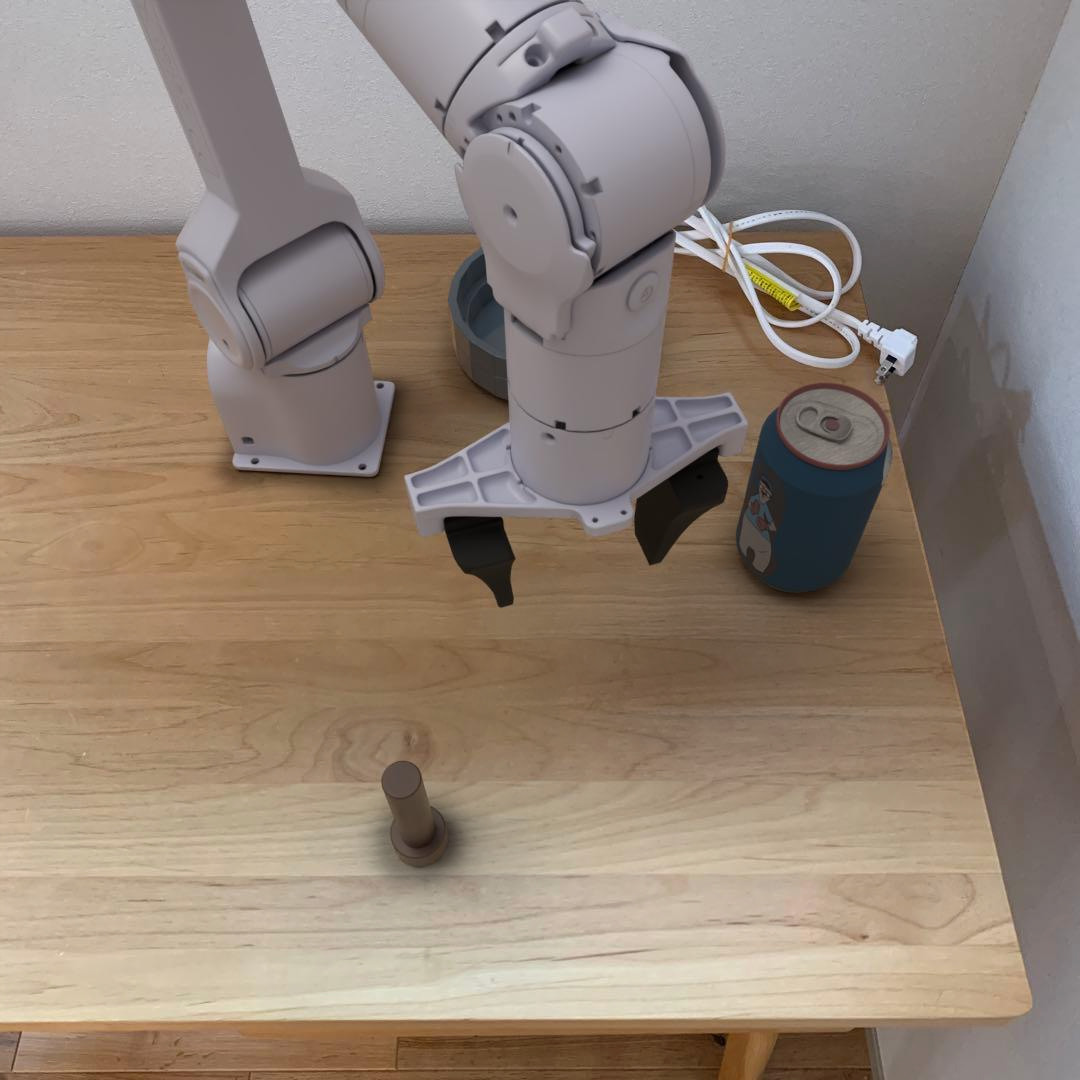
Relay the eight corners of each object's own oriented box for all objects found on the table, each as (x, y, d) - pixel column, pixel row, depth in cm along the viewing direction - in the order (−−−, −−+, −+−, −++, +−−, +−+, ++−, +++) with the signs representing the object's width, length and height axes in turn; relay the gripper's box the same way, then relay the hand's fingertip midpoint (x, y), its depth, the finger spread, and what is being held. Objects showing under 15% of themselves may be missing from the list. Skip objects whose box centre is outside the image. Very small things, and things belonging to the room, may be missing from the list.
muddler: (389, 865, 52) (364, 807, 45) (398, 811, 54) (375, 747, 47) (444, 869, 52) (428, 812, 45) (451, 815, 53) (436, 751, 46)
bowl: (443, 407, 69) (436, 360, 66) (465, 274, 77) (460, 225, 73) (638, 417, 69) (643, 370, 65) (641, 282, 76) (646, 233, 72)
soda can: (864, 536, 63) (920, 403, 53) (823, 621, 60) (875, 495, 50) (759, 492, 65) (795, 356, 55) (714, 572, 62) (743, 442, 52)
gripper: (423, 505, 35) (453, 680, 47) (803, 405, 38) (745, 595, 49) (377, 363, 39) (415, 557, 51) (725, 281, 42) (688, 484, 53)
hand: (575, 568), depth 50 cm, fingers open, 7 cm apart
